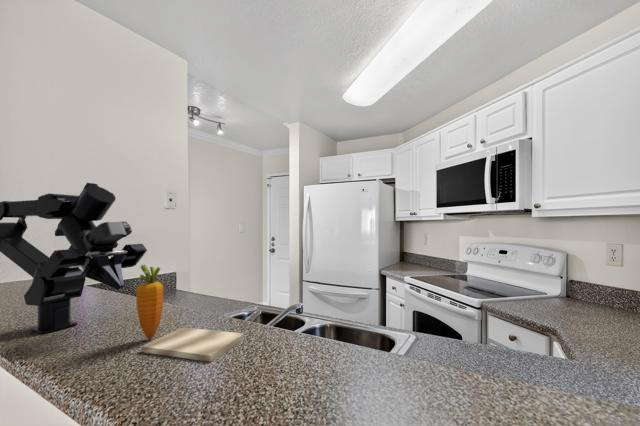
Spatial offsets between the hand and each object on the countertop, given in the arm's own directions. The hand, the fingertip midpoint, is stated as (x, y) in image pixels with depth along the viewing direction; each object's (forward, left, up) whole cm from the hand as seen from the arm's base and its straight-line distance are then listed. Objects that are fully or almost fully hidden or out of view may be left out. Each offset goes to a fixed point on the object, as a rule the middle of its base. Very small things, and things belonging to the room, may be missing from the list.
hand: (121, 287), depth 62 cm
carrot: (+8, +1, -10) cm, 13 cm away
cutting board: (+19, +3, -10) cm, 21 cm away
